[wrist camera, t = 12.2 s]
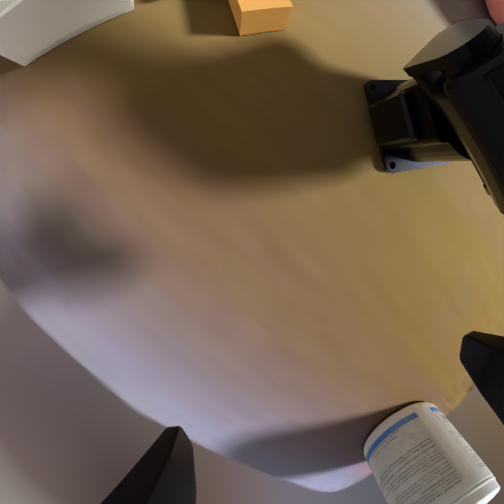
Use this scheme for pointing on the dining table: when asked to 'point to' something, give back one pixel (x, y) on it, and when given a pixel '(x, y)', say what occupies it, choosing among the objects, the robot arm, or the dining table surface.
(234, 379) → the dining table surface
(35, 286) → the dining table surface
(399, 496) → the supplement tub
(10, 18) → the tub
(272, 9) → the lid
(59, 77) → the dining table surface
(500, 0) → the cell model
